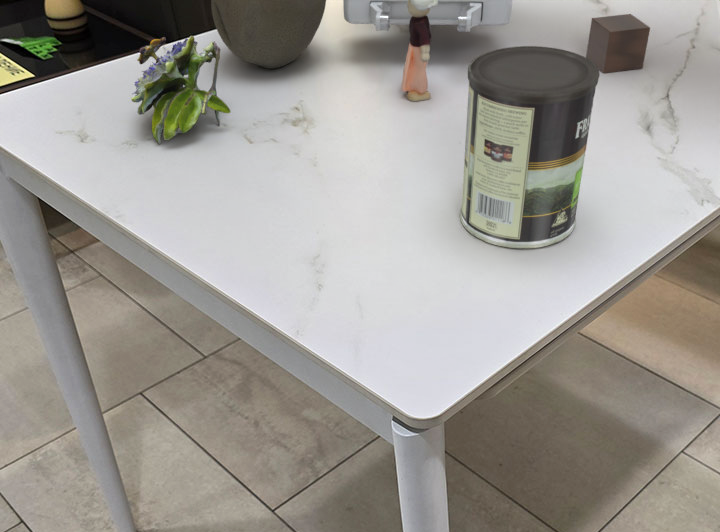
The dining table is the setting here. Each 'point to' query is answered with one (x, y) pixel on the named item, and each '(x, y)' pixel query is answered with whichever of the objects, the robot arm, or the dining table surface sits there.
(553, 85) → the coffee can
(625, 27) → the walnut block
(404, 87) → the grandmother figurine
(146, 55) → the passion flower
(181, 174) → the dining table surface
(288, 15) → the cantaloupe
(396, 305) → the dining table surface
